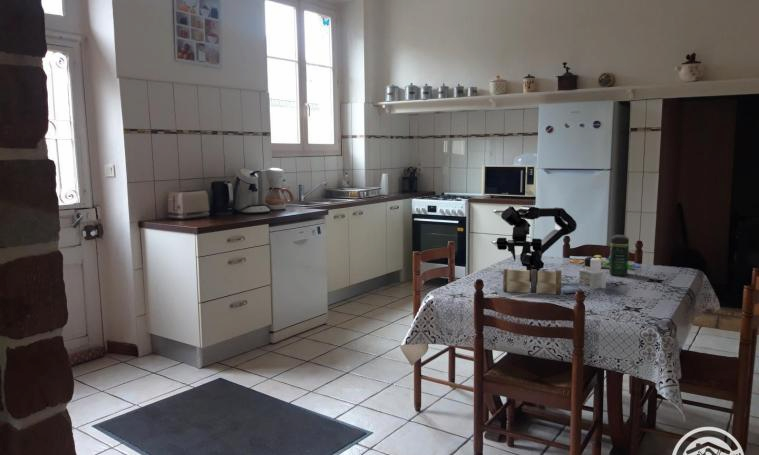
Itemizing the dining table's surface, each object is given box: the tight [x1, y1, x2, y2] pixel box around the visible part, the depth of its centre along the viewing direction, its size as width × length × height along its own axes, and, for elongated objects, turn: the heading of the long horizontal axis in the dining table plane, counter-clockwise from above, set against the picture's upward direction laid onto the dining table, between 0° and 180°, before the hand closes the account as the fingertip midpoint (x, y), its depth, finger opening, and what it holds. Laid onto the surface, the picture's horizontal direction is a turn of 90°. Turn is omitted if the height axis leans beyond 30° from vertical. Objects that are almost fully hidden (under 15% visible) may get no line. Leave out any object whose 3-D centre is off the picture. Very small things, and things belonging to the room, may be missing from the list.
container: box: [578, 256, 607, 290], centre depth 246 cm, size 8×8×13 cm
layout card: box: [493, 287, 567, 298], centre depth 239 cm, size 15×26×1 cm, turn 92°
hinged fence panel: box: [502, 268, 538, 293], centre depth 238 cm, size 13×2×9 cm, turn 72°
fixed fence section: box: [537, 269, 563, 294], centre depth 234 cm, size 9×2×10 cm, turn 72°
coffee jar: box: [609, 234, 630, 277], centre depth 270 cm, size 10×8×19 cm
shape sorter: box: [568, 254, 641, 271], centre depth 293 cm, size 34×19×5 cm, turn 59°
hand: (517, 260), depth 245 cm, fingers open, 2 cm apart
